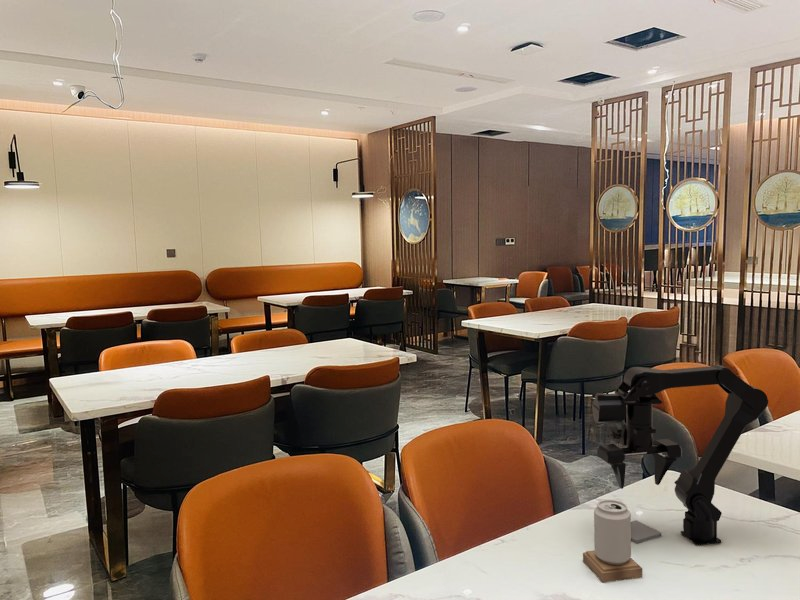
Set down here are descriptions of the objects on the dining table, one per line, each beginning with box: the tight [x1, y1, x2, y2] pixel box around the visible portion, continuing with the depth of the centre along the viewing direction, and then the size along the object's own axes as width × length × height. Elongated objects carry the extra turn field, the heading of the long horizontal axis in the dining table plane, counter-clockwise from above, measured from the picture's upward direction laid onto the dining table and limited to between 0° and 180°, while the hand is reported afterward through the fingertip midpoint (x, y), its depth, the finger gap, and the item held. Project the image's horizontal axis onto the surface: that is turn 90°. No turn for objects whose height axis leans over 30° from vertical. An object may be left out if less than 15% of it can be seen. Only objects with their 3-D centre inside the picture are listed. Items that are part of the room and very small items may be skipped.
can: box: [593, 498, 632, 565], centre depth 133 cm, size 8×8×12 cm
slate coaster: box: [631, 519, 663, 544], centre depth 150 cm, size 8×8×1 cm
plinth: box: [582, 549, 643, 583], centre depth 134 cm, size 9×9×2 cm
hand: (639, 486), depth 146 cm, fingers open, 9 cm apart
